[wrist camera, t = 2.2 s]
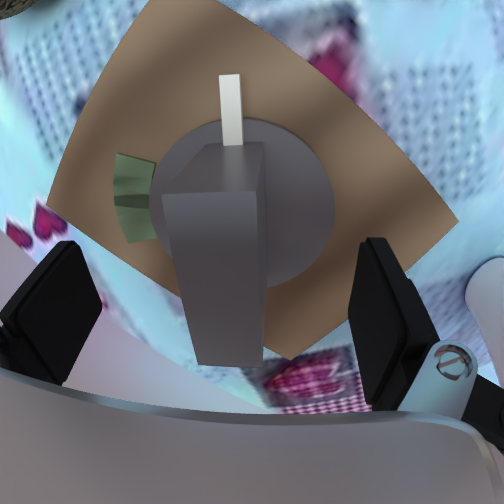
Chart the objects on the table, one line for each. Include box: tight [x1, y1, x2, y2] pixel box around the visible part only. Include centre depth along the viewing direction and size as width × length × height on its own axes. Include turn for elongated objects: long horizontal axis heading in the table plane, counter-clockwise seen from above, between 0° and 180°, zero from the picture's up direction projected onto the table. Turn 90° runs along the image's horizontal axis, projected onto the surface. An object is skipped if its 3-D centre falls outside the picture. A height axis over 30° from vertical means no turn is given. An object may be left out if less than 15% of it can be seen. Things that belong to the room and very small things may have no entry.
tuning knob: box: [149, 74, 335, 368], centre depth 12 cm, size 11×9×7 cm
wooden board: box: [46, 0, 459, 361], centre depth 17 cm, size 20×15×2 cm
